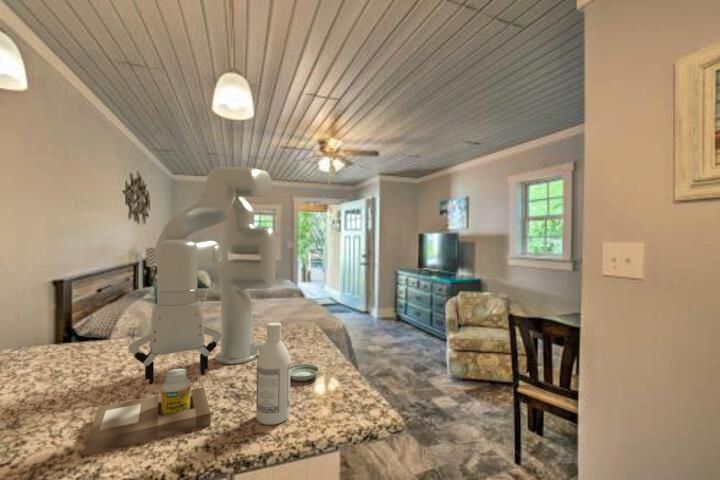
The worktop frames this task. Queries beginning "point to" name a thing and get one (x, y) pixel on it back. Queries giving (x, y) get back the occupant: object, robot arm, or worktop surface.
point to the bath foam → (273, 379)
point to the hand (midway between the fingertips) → (177, 377)
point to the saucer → (303, 371)
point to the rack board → (144, 422)
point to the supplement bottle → (175, 392)
